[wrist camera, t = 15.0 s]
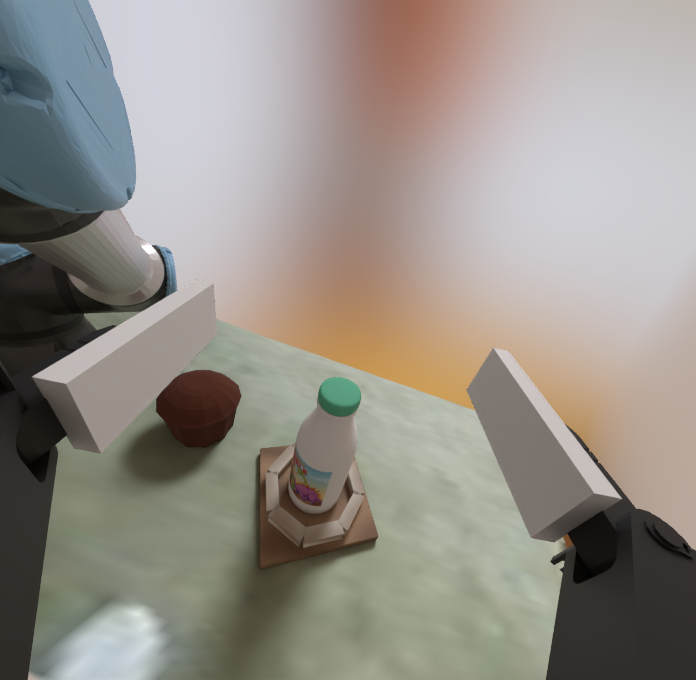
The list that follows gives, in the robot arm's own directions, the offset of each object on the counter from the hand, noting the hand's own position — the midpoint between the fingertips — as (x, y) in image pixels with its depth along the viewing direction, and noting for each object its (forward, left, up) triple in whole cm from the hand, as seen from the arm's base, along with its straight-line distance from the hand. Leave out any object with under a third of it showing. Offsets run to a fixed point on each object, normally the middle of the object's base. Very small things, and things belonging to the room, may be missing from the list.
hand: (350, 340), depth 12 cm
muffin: (-23, -12, -34) cm, 43 cm away
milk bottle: (-9, +4, -33) cm, 35 cm away
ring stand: (-9, +4, -34) cm, 35 cm away
